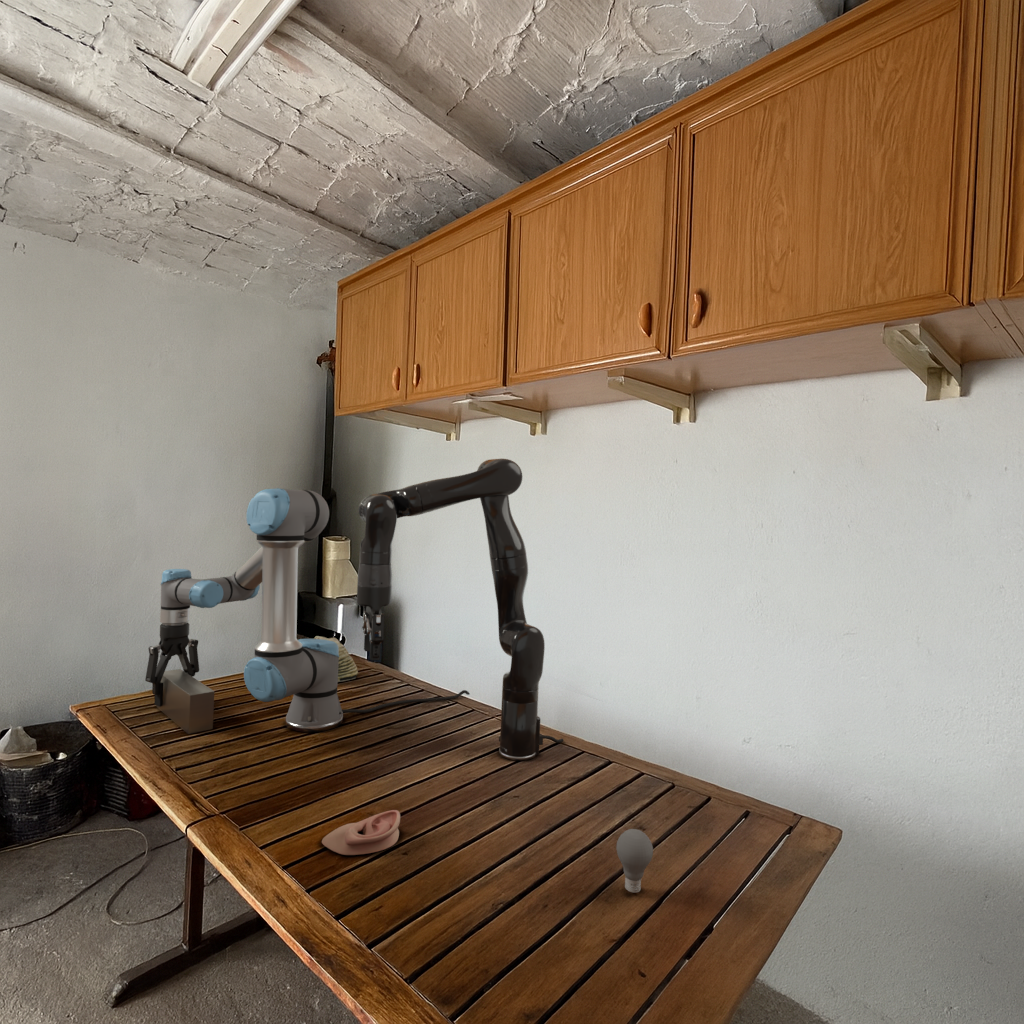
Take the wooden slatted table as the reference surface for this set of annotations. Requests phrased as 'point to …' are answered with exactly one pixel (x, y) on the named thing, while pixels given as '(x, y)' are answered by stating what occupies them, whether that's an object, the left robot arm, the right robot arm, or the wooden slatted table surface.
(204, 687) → the box
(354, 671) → the fossil
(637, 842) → the light bulb
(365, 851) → the anatomical model
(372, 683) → the wooden slatted table surface
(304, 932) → the wooden slatted table surface
